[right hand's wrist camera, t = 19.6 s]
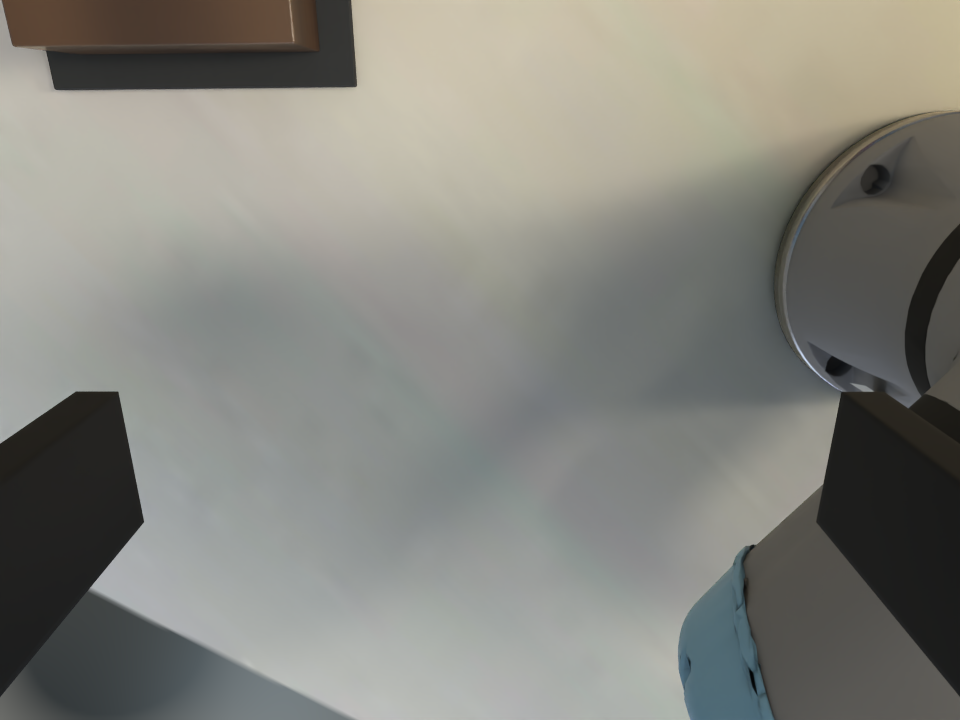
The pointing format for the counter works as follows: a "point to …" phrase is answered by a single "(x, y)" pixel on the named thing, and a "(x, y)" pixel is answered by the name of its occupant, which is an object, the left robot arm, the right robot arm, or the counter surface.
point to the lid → (163, 26)
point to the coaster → (221, 64)
